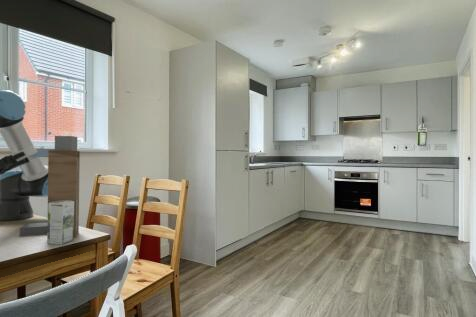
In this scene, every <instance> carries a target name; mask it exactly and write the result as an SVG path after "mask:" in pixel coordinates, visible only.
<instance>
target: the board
mask: <svg viewBox="0 0 476 317" xmlns="http://www.w3.org/2000/svg"><path fill="white" fill-rule="evenodd" d="M47 226H48V222H36V223H25V224H24V225H22V226H21V227H19V237H22V236H36V235H47Z"/></svg>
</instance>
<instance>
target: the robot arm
mask: <svg viewBox="0 0 476 317" xmlns="http://www.w3.org/2000/svg"><path fill="white" fill-rule="evenodd" d="M25 115H26V103H25V102H24V100H23V99H22V97H21V96H20V95H19V94H17V93H16V92H14V91H12V90H4V89H0V135H1V136H2V138H3V140H4V141H5V144H6V146H7V148H8V150H9V151H10V152H11V154H10V155H5V156H4V157H2V158H0V221H15V220H16V221H17V220H24V219H28V218H32V217H34V210H33V207H32V204H31V202H30V197H38V198H40V197H41V198H42V197H43V198H46V197H47V198H48V165H47V164H46V165H45V164H44V163H43V161H42V159H41V157H28V156H30V155H33V154H35V153H37V150H36V149H35V148H36V147H35V146H34V143H33V142H32V140H31V138H30V136H29V134H28V132H27V130H26V128H25V125H24V124H23V121H24V119H25V117H24V116H25ZM38 149H45V147H44V146H41V147H39V148H38ZM18 167H19V168H20V170H18V169H17V170H14V169H15V168H18Z"/></svg>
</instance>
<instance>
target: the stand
mask: <svg viewBox="0 0 476 317" xmlns="http://www.w3.org/2000/svg"><path fill="white" fill-rule="evenodd" d="M80 153H81V152H80V151H79V150H77V151H58V150H48V157H47V158H48V159H47V160H48V163H47V166H48V197H47V205H48V204H49V203H50V202H55V201H60V200H70V201H74V229H73V239H76V238H77V236H78V234H79V232H80V231H79V230H80V227H79V226H80V225H79V224H80V162H81V161H80V157H81V155H80ZM46 235H47V236H48V226H47V234H46Z"/></svg>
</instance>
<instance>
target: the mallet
mask: <svg viewBox="0 0 476 317" xmlns="http://www.w3.org/2000/svg"><path fill="white" fill-rule="evenodd" d="M35 149H36V150H37V153H35V154H33V155H30V156H28V157H40V158H48V150H58V151H78V136H74V135H54V148H44V149H39V148H36V147H35Z"/></svg>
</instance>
